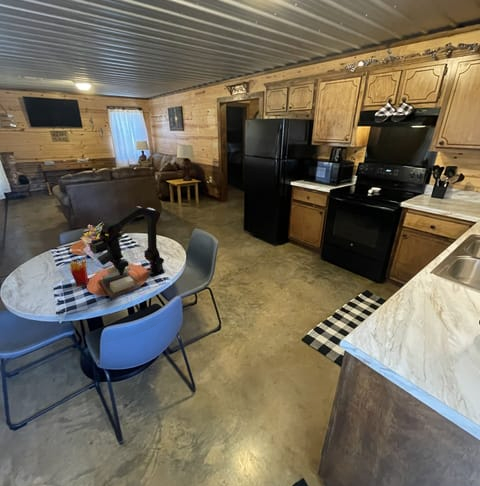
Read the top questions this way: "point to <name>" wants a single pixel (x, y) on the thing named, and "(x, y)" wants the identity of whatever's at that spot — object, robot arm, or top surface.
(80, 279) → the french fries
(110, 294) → the walnut board
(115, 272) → the cream book
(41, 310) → the top surface
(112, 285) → the cream books
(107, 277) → the grey rectangular block
